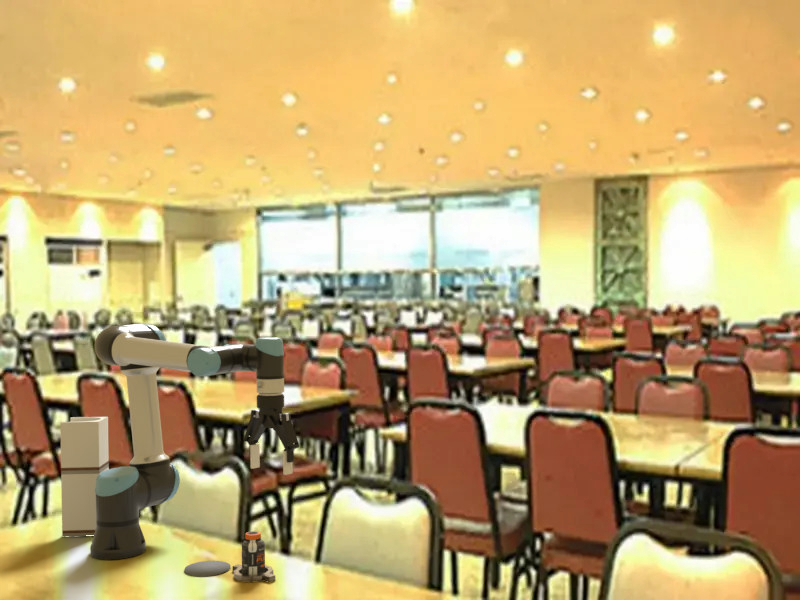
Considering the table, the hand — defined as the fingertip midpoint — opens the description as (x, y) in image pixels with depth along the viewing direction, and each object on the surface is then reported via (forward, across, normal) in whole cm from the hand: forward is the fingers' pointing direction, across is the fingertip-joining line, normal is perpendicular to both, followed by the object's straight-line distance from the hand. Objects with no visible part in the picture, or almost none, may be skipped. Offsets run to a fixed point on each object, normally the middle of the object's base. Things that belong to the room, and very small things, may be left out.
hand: (271, 471), depth 249 cm
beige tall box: (+25, -67, -17) cm, 74 cm away
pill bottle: (+25, +7, -12) cm, 28 cm away
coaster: (+25, -7, -16) cm, 30 cm away
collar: (+25, +7, -12) cm, 28 cm away
